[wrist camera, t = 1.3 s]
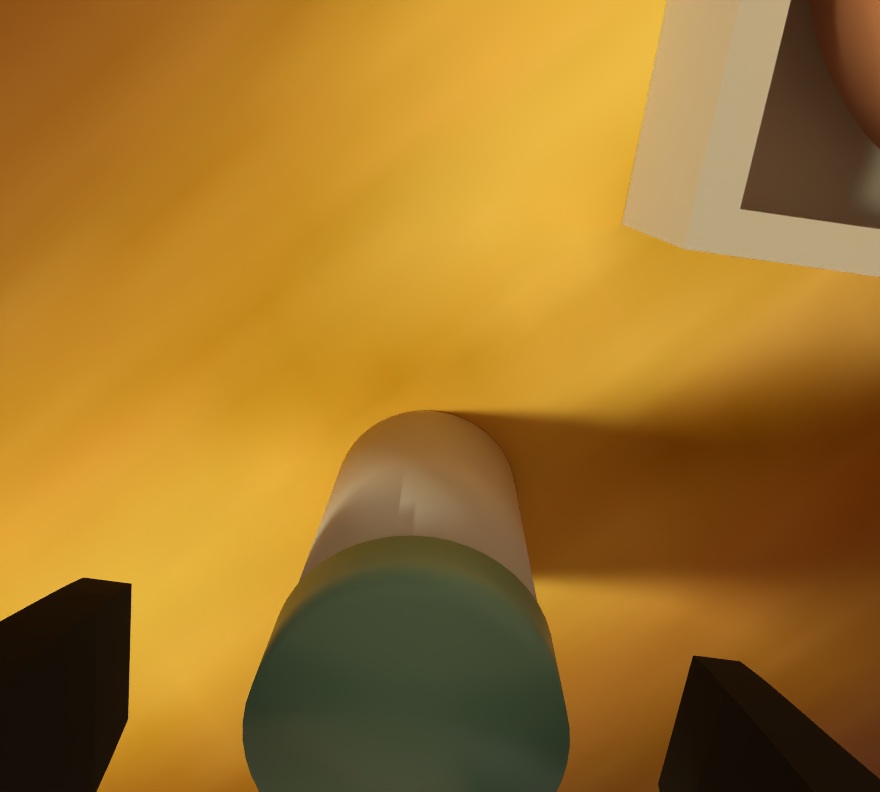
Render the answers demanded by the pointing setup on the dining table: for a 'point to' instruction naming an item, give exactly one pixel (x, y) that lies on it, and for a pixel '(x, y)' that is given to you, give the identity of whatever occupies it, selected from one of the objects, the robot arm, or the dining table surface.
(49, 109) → the dining table surface
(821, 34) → the orange dome
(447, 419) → the jar with green lid
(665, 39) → the open square beige box
